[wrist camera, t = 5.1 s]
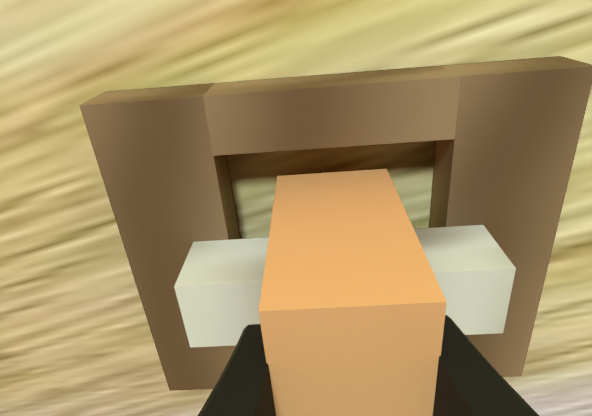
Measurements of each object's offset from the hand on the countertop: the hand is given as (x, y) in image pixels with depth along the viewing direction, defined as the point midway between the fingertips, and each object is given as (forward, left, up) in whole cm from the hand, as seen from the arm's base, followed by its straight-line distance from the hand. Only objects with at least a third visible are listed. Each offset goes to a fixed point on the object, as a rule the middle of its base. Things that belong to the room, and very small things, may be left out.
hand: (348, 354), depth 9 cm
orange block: (0, 0, -4) cm, 4 cm away
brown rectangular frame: (0, 0, -5) cm, 5 cm away
